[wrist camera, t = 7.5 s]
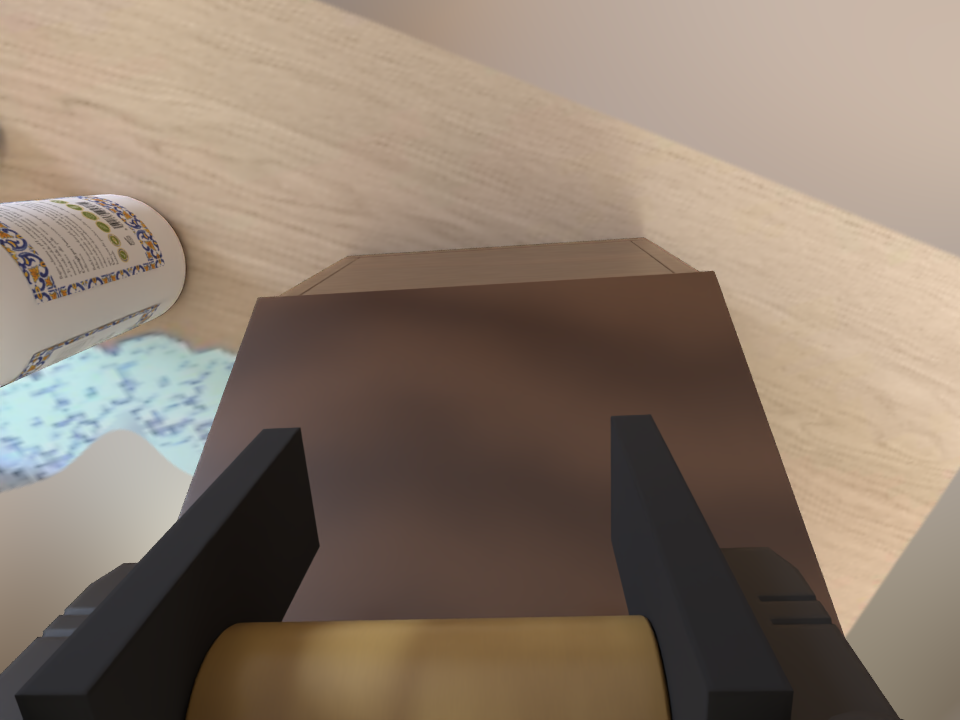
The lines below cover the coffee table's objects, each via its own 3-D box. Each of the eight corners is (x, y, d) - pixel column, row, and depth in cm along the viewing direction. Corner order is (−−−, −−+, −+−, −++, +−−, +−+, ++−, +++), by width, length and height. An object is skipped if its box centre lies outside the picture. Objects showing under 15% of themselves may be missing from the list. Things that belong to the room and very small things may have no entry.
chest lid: (936, 950, 11) (1275, 971, 6) (53, 933, 12) (-318, 938, 7) (710, 288, 22) (757, 95, 17) (265, 313, 23) (183, 140, 18)
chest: (643, 506, 38) (694, 648, 27) (380, 514, 39) (327, 653, 28) (645, 237, 33) (708, 276, 22) (346, 256, 34) (265, 302, 23)
